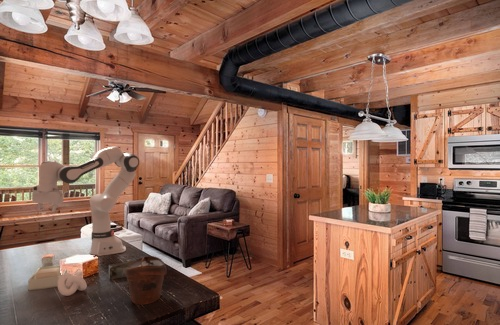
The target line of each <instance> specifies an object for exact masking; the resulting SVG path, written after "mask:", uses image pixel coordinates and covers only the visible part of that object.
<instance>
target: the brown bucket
mask: <svg viewBox="0 0 500 325" xmlns="http://www.w3.org/2000/svg"><path fill="white" fill-rule="evenodd" d="M133 261H134V262H133V263H131V264H130V265H129V266H128V267H127V269H126V274H125V277H124V278H126V280H127V284H126V285H125V287H127V289H128V291H129V296H130V299H131V303H133V304H135V305H142V306H143V305H149V304H152V303H154V302H157V301H158V300H159V299H160V298H161V296H162V289H163V284H164V279H165V275H167V274H168V272H167V266H166V264H165V263H164V261H163V260H162V259H161V258H159V257H158V256H153V255H148V256H147V255H146V256H142V257H140V258H138V259H136V261H135V260H133Z"/></svg>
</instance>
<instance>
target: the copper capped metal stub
mask: <svg viewBox="0 0 500 325" xmlns="http://www.w3.org/2000/svg"><path fill="white" fill-rule="evenodd" d="M55 262H56V258H55V254H54V253H51V254H50V253H49V254H44V255H43V256H42V258H41V267H47V266H56V264H55Z"/></svg>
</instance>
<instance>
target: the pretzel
mask: <svg viewBox="0 0 500 325" xmlns="http://www.w3.org/2000/svg"><path fill="white" fill-rule="evenodd" d="M83 276H84V273H83V271H82V270H81V269H80V270H77V271H76V272H75V273H74V274H72V273H70V272H69V273H65V274H63V275H62V276H60V278H59V279H58V284H57V286H58V287H57V290H58V292H59V293H60V294H61V295H63V296H65V297H68V296H72V295H74V293H76V291H80V292H81V291H85V290H86V289H87V287H88V286H87V282H86V280H85V278H83Z"/></svg>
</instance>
